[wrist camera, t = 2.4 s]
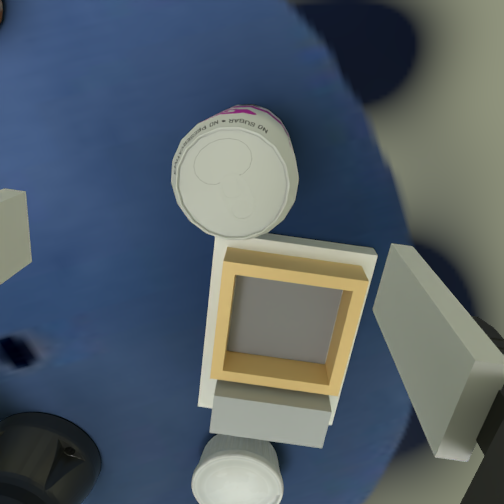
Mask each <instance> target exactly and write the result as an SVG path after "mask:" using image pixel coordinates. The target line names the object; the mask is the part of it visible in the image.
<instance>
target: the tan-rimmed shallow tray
mask: <svg viewBox="0 0 504 504" xmlns="http://www.w3.org/2000/svg"><path fill="white" fill-rule="evenodd" d="M377 257H378V255H377V253H376V252H375V250H374V248H369V247H362V246H355V245H348V244H341V243H334V242H327V241H319V240H312V239H305V238H298V237H291V236H284V235H277V234H270V233H266V234H263V235H260V236H257V237H255V238H252V239H249V240H225V239H222V238H219V237H216V236H215V244H214V253H213V263H212V273H211V283H210V293H209V302H208V312H207V322H206V332H205V341H204V351H203V361H202V371H201V380H200V390H199V400H198V406H199V407H206V408H212V416H211V424H210V432H209V433H216V434H223V435H230V436H237V437H245V438H252V439H259V440H266V441H273V442H280V443H287V444H295V445H302V446H309V447H316V448H322V447H323V443H324V439H325V435H326V432H327V428H328V425H332V423H333V419H334V415H335V412H336V408H337V404H338V400H339V397H340V393H341V389H342V386H343V382H344V378H345V375H346V371H347V367H348V364H349V360H350V356H351V353H352V349H353V345H354V342H355V338H356V334H357V331H358V327H359V323H360V319H361V316H362V312H363V308H364V305H365V301H366V297H367V294H368V290H369V286H370V283H371V279H372V275H373V272H374V268H375V264H376V261H377Z"/></svg>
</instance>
